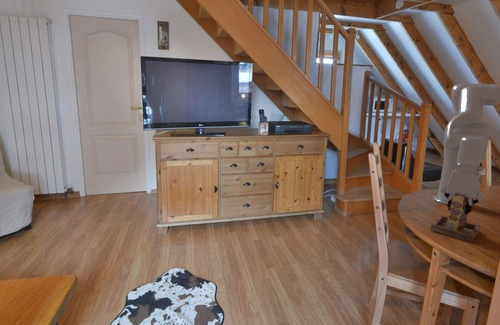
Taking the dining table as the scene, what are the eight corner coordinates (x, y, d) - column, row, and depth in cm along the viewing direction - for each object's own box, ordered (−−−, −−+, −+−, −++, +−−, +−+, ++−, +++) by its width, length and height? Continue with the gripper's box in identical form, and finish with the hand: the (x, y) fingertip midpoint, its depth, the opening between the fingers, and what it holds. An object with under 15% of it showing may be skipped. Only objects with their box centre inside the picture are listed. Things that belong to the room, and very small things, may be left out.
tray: (439, 220, 137) (440, 215, 137) (478, 231, 128) (480, 225, 127) (430, 230, 127) (431, 224, 127) (472, 242, 118) (473, 236, 117)
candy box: (456, 234, 123) (463, 198, 120) (444, 230, 126) (451, 195, 123) (465, 229, 128) (472, 194, 125) (454, 225, 132) (460, 191, 128)
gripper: (495, 171, 118) (485, 215, 122) (444, 163, 130) (437, 203, 134) (492, 174, 113) (482, 220, 117) (439, 165, 124) (432, 208, 129)
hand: (458, 211), depth 126 cm, fingers open, 5 cm apart
